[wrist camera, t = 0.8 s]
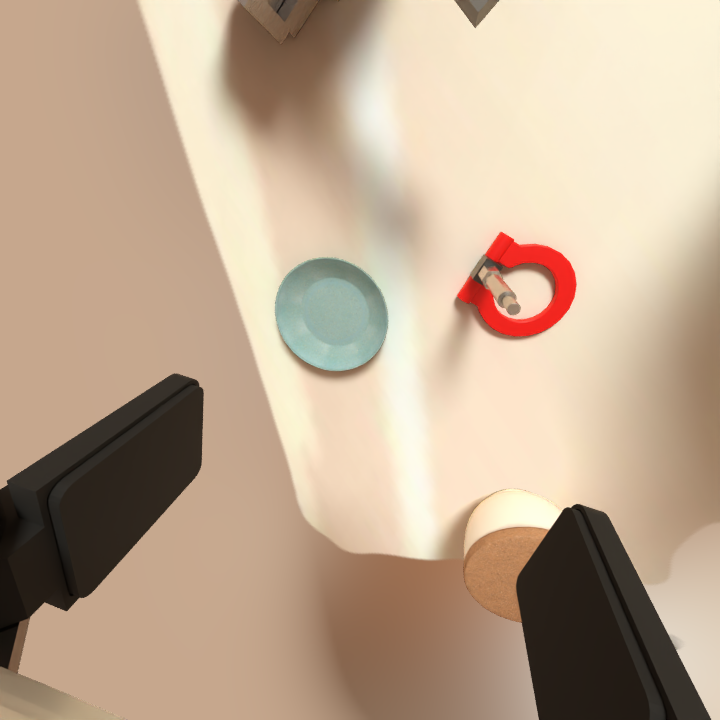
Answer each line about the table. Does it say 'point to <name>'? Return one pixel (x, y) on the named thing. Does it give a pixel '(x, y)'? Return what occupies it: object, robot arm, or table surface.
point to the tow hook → (491, 284)
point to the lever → (476, 9)
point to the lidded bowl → (504, 546)
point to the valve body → (280, 15)
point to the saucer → (331, 314)
